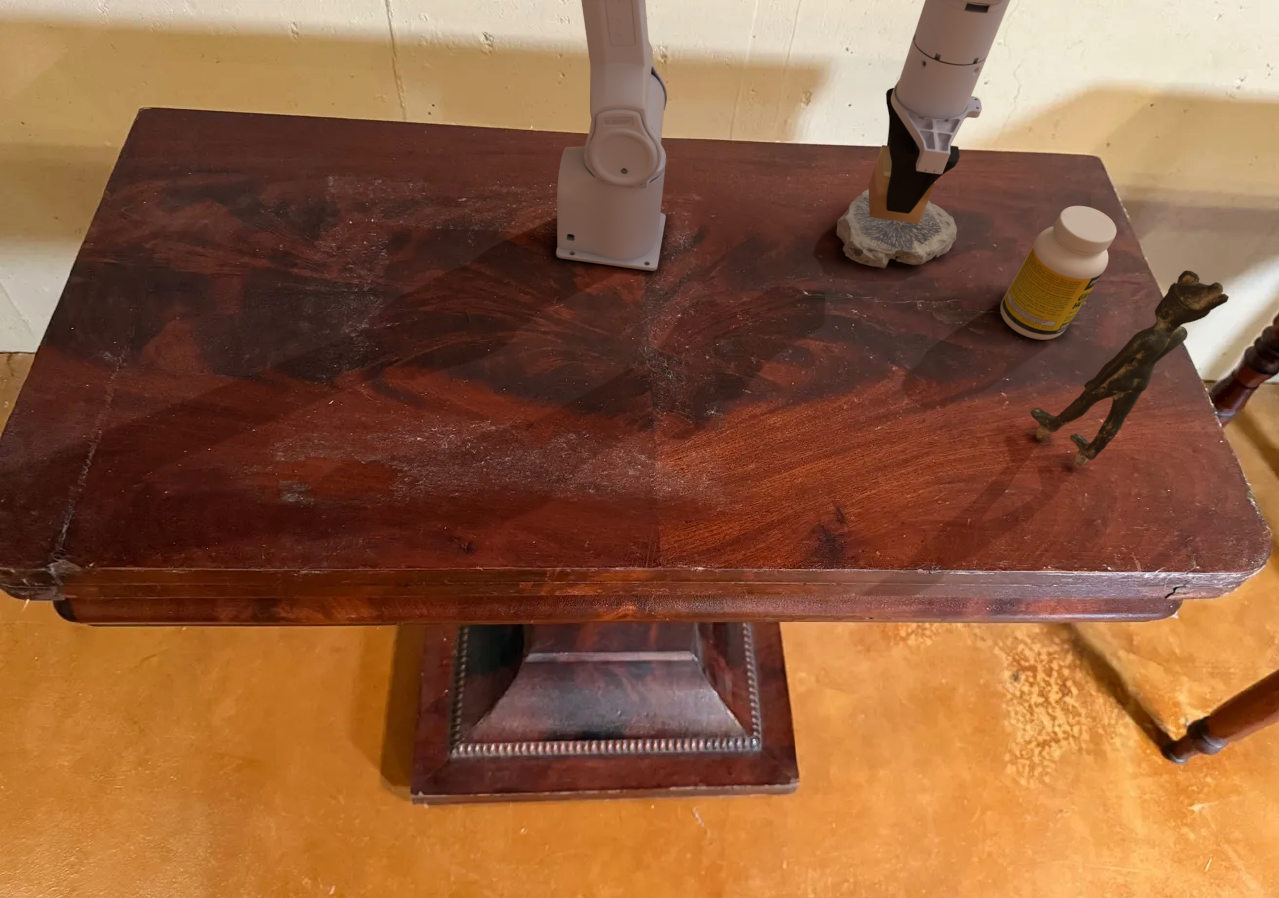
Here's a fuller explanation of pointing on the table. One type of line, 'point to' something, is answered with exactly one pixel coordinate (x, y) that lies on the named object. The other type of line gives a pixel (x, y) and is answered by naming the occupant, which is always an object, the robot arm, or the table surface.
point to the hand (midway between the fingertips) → (896, 192)
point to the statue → (1134, 364)
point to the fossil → (894, 235)
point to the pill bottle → (1058, 273)
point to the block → (880, 188)
